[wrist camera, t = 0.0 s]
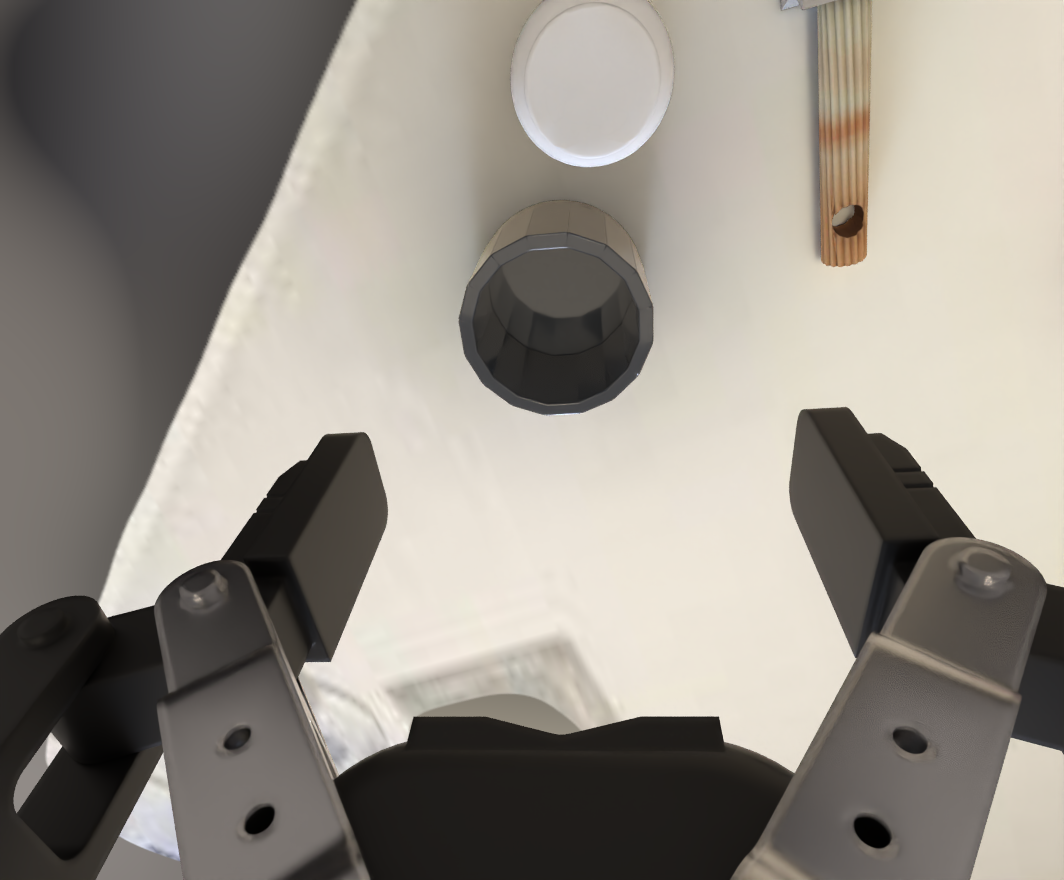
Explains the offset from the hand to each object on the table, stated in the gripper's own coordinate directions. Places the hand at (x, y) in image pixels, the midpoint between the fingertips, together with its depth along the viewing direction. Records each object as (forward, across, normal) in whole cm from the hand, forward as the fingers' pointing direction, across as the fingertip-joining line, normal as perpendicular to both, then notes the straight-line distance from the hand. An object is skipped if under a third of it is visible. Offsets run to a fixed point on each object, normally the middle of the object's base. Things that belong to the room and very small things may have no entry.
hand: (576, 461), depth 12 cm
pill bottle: (+21, -1, -6) cm, 22 cm away
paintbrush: (+21, -10, -7) cm, 24 cm away
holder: (+21, +1, +3) cm, 21 cm away
